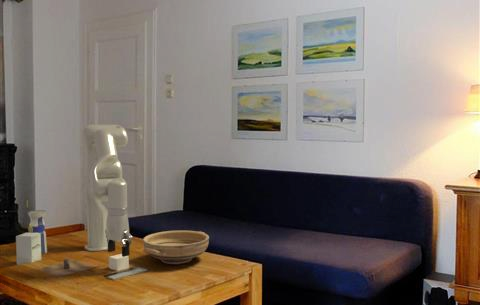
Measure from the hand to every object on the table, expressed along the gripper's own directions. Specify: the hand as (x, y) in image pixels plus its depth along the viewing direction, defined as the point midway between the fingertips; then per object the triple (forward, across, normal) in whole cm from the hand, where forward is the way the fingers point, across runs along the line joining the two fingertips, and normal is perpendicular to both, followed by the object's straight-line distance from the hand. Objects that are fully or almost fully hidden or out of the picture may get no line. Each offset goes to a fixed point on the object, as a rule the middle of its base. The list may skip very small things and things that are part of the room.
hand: (118, 253), depth 205 cm
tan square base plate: (+7, -15, -14) cm, 22 cm away
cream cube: (+7, +1, 0) cm, 7 cm away
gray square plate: (+7, +1, 0) cm, 7 cm away
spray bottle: (+8, -53, -7) cm, 54 cm away
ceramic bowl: (+7, +6, +26) cm, 27 cm away
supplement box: (+8, -39, -18) cm, 44 cm away
